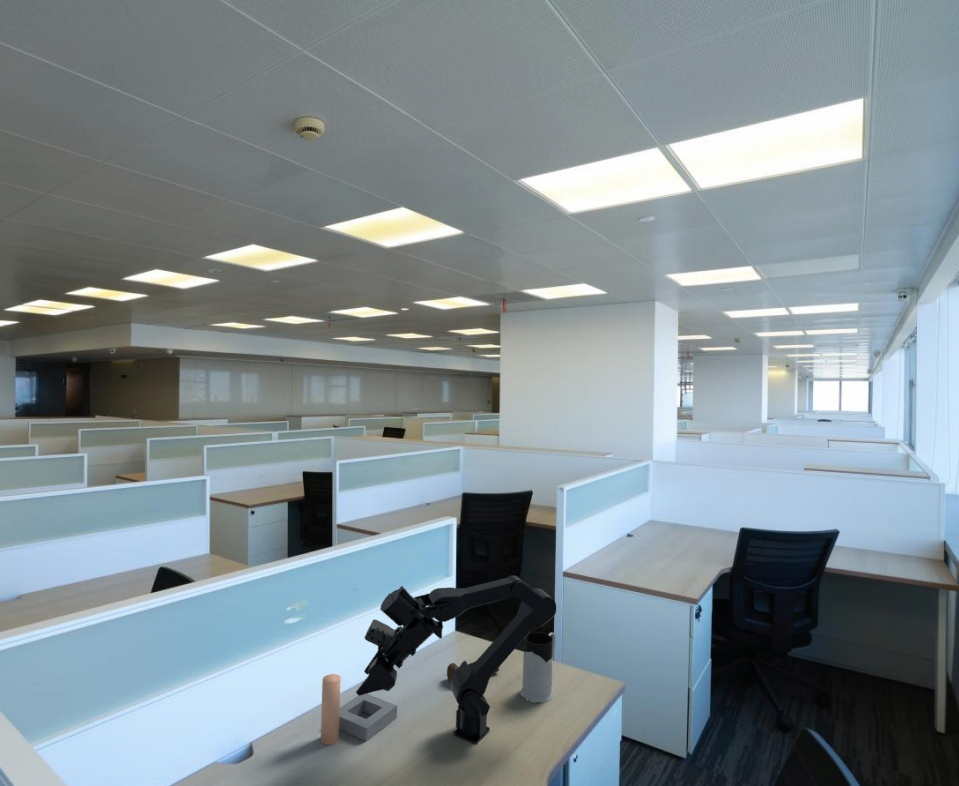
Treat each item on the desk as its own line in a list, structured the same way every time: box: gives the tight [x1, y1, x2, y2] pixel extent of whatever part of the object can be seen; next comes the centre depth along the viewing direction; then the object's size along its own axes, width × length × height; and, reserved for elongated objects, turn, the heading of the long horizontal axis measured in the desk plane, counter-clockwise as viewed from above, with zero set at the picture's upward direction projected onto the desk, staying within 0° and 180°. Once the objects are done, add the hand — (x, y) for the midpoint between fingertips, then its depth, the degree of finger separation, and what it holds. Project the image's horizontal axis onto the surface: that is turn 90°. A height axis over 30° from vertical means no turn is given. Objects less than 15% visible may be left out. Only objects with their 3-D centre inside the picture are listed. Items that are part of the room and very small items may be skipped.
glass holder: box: [520, 631, 556, 704], centre depth 152 cm, size 9×14×15 cm, turn 146°
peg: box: [320, 673, 342, 746], centre depth 128 cm, size 4×4×14 cm
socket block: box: [339, 693, 398, 742], centre depth 135 cm, size 11×11×3 cm
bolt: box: [446, 662, 500, 684], centre depth 158 cm, size 6×5×15 cm
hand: (361, 682), depth 128 cm, fingers open, 9 cm apart
